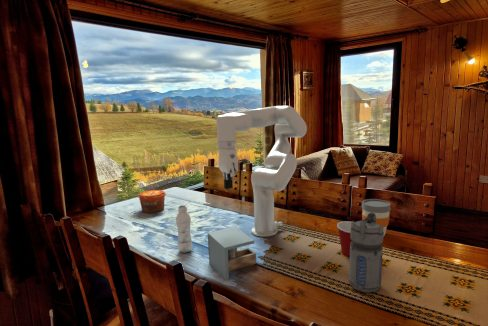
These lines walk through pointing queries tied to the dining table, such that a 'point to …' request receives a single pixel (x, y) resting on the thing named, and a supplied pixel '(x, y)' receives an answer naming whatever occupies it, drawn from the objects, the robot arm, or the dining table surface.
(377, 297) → the dining table surface
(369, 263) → the beverage bottle
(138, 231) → the dining table surface
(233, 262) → the tray
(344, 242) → the plastic cup
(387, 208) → the reusable coffee cup
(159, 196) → the food container
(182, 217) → the plastic bottle
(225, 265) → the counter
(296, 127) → the robot arm
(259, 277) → the dining table surface
